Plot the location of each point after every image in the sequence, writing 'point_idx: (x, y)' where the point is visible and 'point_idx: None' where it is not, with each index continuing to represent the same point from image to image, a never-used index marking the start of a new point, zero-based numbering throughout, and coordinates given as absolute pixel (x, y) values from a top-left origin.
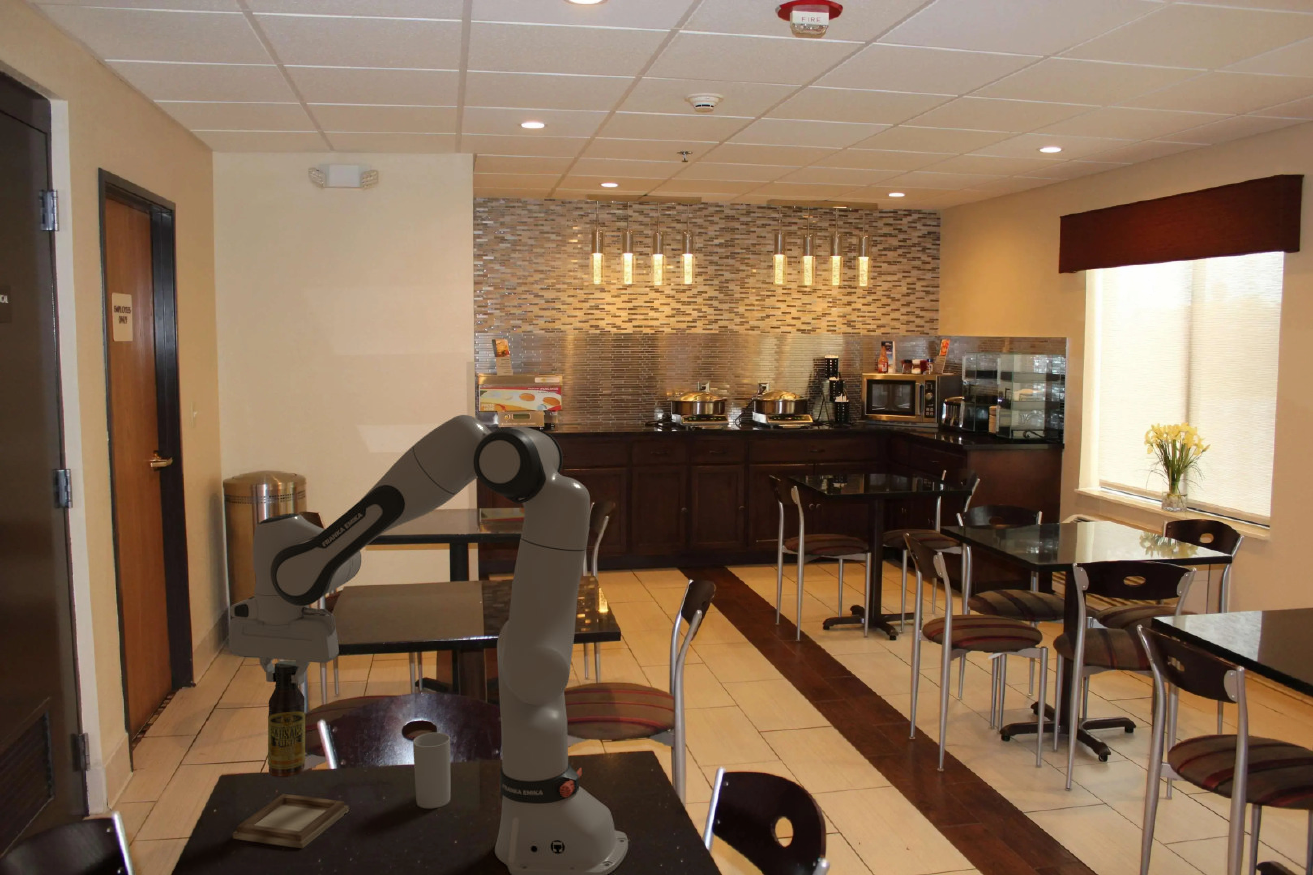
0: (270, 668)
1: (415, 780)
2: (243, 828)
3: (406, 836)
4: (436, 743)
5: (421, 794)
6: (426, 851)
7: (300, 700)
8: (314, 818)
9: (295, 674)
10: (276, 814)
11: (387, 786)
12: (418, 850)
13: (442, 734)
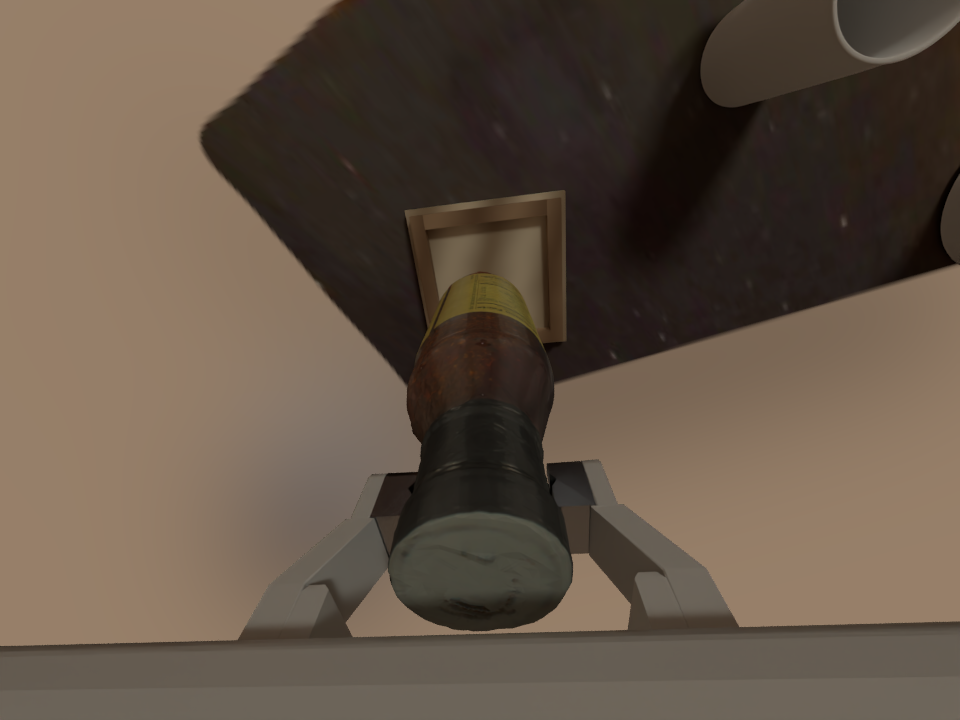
0: (368, 561)
1: (742, 80)
2: None
3: (732, 240)
4: None
5: (746, 101)
6: (790, 274)
7: (546, 393)
8: (530, 264)
9: (595, 560)
10: (450, 276)
11: (583, 22)
12: (773, 276)
13: None
